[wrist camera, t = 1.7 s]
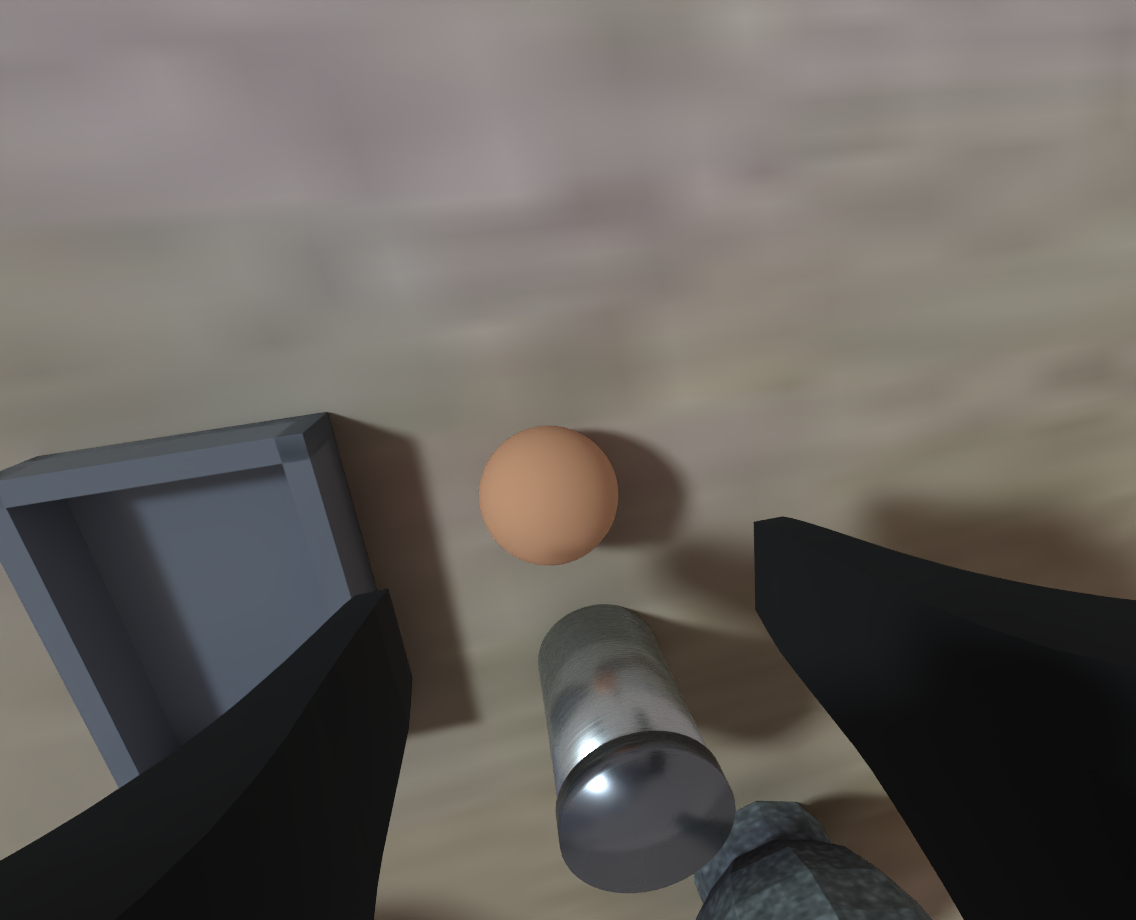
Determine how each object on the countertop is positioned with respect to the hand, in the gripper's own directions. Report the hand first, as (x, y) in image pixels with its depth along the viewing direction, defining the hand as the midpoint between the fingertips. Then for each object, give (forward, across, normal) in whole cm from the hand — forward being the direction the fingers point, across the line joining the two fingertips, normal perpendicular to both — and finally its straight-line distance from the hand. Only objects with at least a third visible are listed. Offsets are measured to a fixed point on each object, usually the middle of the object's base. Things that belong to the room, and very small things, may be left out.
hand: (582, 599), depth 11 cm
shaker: (+8, -1, +8) cm, 11 cm away
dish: (+8, +10, +3) cm, 13 cm away
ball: (+8, 0, 0) cm, 8 cm away
